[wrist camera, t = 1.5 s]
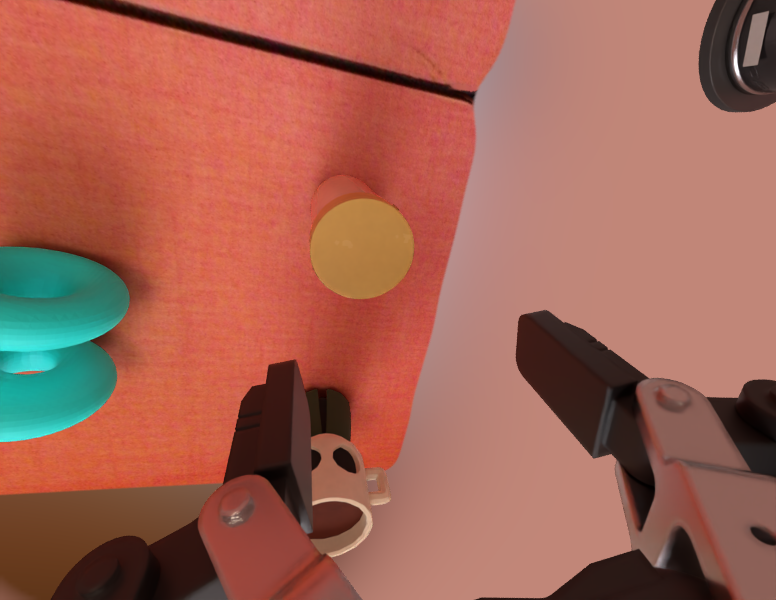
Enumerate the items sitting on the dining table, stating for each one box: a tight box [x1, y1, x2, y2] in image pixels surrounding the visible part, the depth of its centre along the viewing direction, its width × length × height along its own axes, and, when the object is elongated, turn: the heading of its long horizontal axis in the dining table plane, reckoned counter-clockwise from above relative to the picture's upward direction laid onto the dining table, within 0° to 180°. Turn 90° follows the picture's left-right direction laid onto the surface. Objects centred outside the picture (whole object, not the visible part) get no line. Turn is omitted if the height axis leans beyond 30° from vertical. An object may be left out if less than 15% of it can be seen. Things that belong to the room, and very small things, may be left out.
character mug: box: [305, 389, 391, 557], centre depth 33 cm, size 11×7×13 cm, turn 82°
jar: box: [311, 175, 376, 224], centre depth 25 cm, size 5×5×11 cm
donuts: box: [0, 247, 130, 442], centre depth 24 cm, size 10×10×10 cm
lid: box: [309, 192, 414, 299], centre depth 21 cm, size 6×6×2 cm
